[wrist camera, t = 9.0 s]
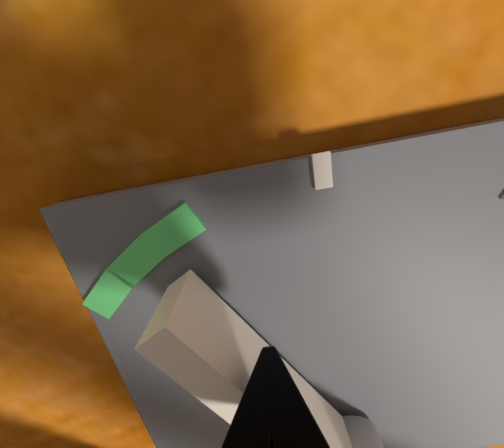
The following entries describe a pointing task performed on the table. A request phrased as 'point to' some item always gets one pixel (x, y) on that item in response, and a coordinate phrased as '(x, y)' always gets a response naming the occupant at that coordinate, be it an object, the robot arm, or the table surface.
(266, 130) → the table surface
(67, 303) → the table surface
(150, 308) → the dial plate
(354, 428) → the lever
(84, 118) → the table surface
